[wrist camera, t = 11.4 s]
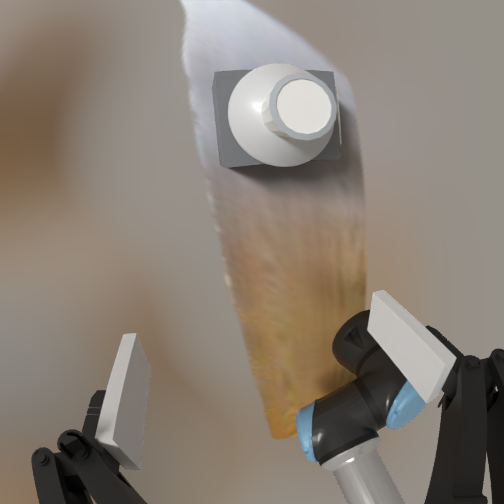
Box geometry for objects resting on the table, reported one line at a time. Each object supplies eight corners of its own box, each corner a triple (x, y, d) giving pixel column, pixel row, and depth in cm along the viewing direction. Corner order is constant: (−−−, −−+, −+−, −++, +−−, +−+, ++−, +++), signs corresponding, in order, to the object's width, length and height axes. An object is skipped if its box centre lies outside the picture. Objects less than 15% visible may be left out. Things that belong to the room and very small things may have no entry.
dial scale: (320, 159, 42) (351, 163, 33) (220, 167, 40) (225, 172, 31) (314, 81, 37) (343, 67, 28) (211, 84, 35) (214, 66, 26)
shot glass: (302, 149, 31) (327, 150, 25) (247, 131, 30) (259, 127, 23) (317, 98, 29) (344, 89, 23) (264, 79, 28) (280, 62, 21)
